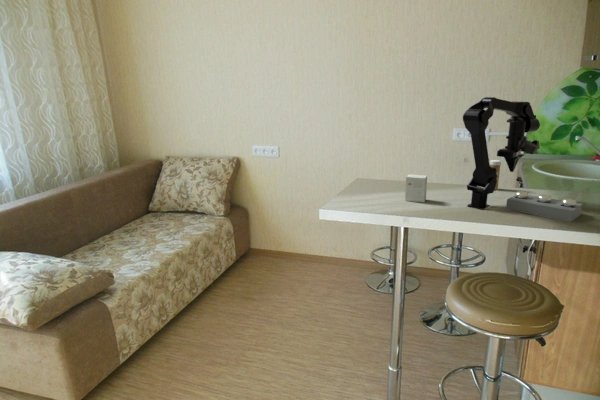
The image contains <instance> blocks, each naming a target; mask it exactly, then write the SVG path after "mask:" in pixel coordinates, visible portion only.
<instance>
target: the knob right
mask: <svg viewBox="0 0 600 400" xmlns="http://www.w3.org/2000/svg"><path fill="white" fill-rule="evenodd" d="M561 201H562V203H561V205H563V206H565V207H570V208H572V207H575V206H576V203H577V200H575V199H573V198H572V199H571V198H563V199H562V200H561Z"/></svg>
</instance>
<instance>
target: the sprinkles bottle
mask: <svg viewBox="0 0 600 400" xmlns="http://www.w3.org/2000/svg"><path fill="white" fill-rule="evenodd" d="M489 164H490V166H491V167H493V168H496V173H497V176H498V177H497V183H496V186H495V189H494V191H497V190H499V181H500V172H501V165H502V161H501V160H498V159H490V160H489Z"/></svg>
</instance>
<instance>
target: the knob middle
mask: <svg viewBox="0 0 600 400" xmlns="http://www.w3.org/2000/svg"><path fill="white" fill-rule="evenodd" d="M537 197H538V199H537V200H538V201H540V202H542V203H548V202H551V199H552V195H549V194H538V195H537Z"/></svg>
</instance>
